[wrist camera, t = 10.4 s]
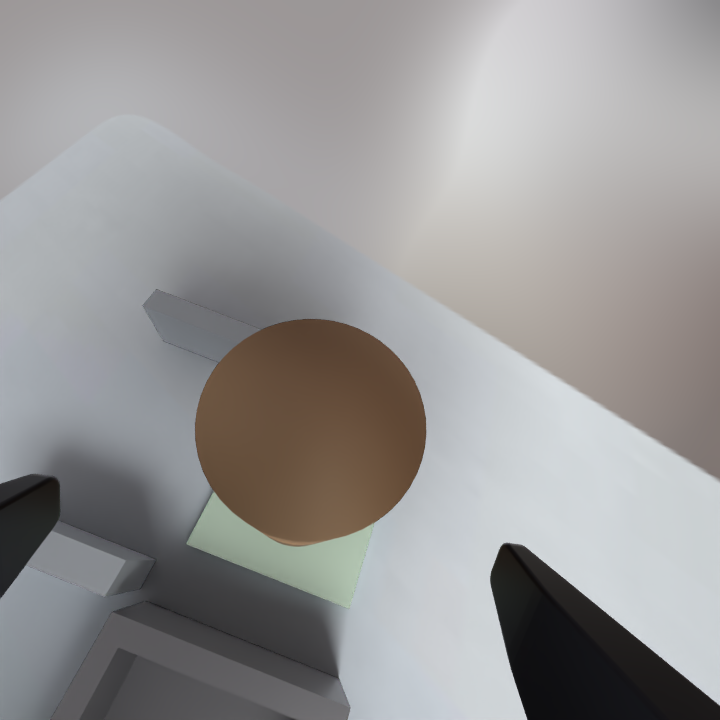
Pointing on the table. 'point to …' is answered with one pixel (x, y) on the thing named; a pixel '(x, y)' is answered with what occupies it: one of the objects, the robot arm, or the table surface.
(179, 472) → the table surface
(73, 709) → the gray open box
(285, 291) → the table surface
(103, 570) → the channel
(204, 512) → the pad
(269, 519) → the walnut post
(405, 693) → the table surface
